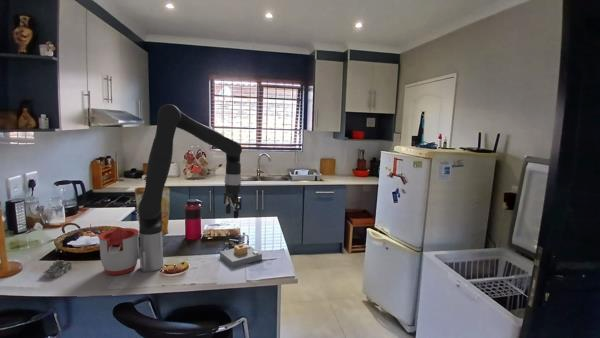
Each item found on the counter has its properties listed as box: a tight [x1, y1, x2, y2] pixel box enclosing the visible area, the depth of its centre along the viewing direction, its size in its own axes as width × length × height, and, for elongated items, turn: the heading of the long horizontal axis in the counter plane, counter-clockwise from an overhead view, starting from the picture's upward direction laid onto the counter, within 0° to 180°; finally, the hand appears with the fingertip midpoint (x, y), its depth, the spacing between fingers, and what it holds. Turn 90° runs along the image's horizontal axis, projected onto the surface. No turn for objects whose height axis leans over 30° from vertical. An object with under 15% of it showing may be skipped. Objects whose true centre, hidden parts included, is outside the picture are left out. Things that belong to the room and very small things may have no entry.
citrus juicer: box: [98, 226, 140, 276], centre depth 142 cm, size 16×17×20 cm
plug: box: [233, 243, 247, 256], centre depth 159 cm, size 5×4×7 cm
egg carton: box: [43, 259, 73, 279], centre depth 140 cm, size 11×8×4 cm
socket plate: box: [219, 244, 263, 269], centre depth 159 cm, size 16×14×4 cm
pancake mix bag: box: [134, 186, 171, 235], centre depth 189 cm, size 7×19×28 cm, turn 104°
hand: (232, 215), depth 155 cm, fingers open, 8 cm apart
